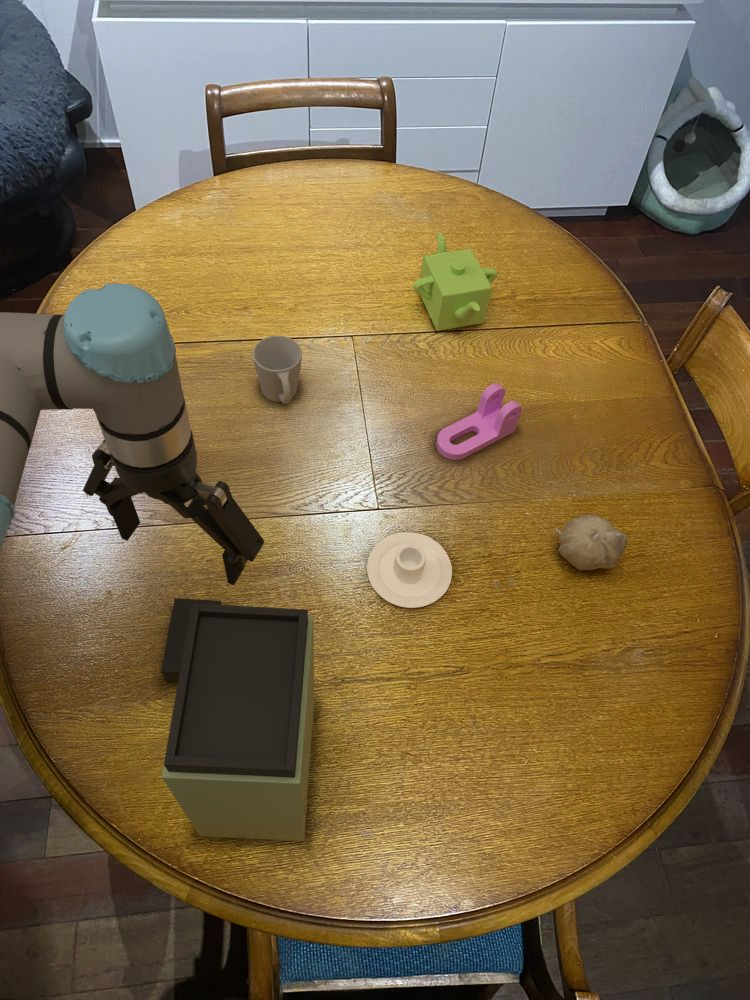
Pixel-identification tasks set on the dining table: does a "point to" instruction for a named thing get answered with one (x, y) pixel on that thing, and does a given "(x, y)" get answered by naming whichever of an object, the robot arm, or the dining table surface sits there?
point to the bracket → (481, 425)
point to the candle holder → (409, 569)
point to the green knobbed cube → (454, 287)
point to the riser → (253, 786)
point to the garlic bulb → (591, 542)
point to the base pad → (239, 692)
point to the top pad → (178, 637)
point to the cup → (278, 367)
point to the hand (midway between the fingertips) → (183, 552)
